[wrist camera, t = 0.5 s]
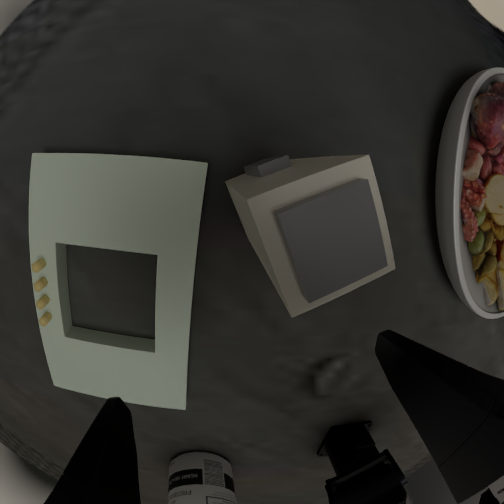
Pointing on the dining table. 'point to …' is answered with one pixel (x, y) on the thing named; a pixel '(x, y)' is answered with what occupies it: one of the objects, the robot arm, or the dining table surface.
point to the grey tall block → (314, 225)
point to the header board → (124, 239)
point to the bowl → (474, 193)
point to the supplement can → (200, 480)
